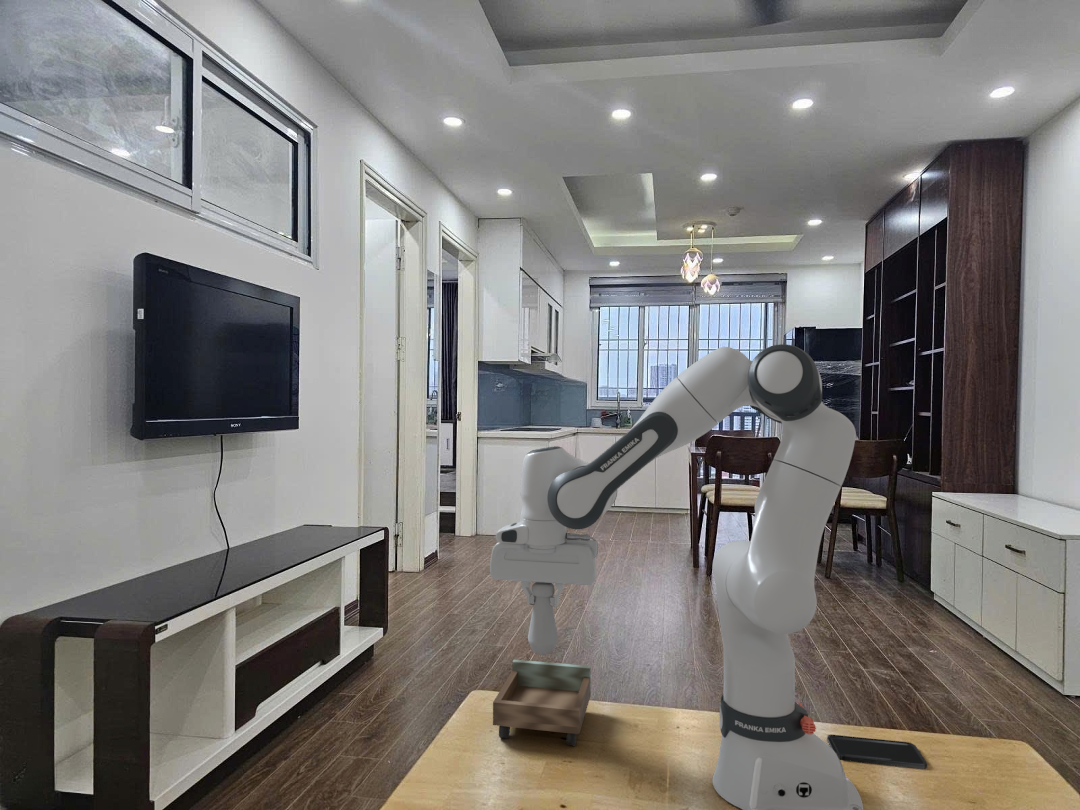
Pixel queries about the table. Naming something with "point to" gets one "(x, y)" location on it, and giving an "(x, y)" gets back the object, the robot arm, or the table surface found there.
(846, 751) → the phone
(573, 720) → the open wooden tray
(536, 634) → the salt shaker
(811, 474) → the robot arm
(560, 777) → the table surface
